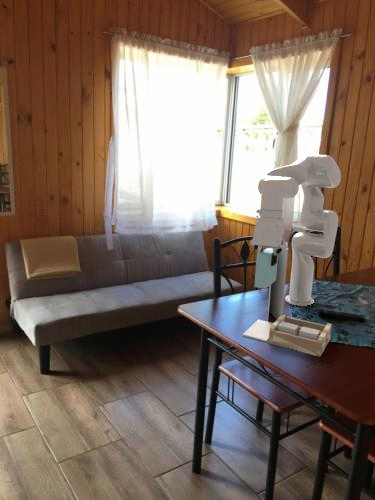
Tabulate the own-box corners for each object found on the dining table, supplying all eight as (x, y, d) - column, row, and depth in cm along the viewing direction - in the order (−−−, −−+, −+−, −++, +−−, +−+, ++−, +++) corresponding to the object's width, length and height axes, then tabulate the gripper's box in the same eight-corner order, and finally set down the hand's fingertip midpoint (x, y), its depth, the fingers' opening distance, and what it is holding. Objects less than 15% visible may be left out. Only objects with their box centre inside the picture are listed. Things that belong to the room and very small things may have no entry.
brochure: (281, 324, 163) (288, 250, 155) (267, 322, 164) (273, 249, 156) (281, 310, 176) (287, 242, 169) (267, 309, 177) (273, 241, 170)
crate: (281, 327, 159) (283, 313, 158) (330, 339, 151) (331, 323, 149) (268, 343, 146) (269, 327, 145) (320, 356, 138) (322, 340, 136)
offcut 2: (300, 343, 147) (302, 326, 146) (317, 347, 144) (319, 330, 143) (297, 347, 144) (299, 330, 142) (315, 352, 141) (317, 334, 139)
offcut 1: (280, 338, 151) (281, 321, 149) (296, 342, 148) (298, 325, 146) (276, 342, 147) (278, 325, 146) (293, 346, 145) (295, 329, 143)
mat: (258, 320, 165) (258, 319, 165) (280, 326, 161) (280, 324, 161) (242, 335, 152) (242, 334, 152) (266, 341, 147) (266, 340, 147)
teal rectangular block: (254, 286, 148) (256, 254, 145) (265, 278, 158) (268, 247, 155) (265, 288, 146) (267, 255, 143) (276, 280, 156) (278, 249, 153)
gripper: (244, 212, 146) (241, 262, 151) (291, 217, 138) (286, 270, 143) (252, 210, 153) (249, 258, 157) (297, 215, 145) (292, 265, 149)
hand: (267, 263), depth 150 cm, fingers closed on teal rectangular block, 4 cm apart
